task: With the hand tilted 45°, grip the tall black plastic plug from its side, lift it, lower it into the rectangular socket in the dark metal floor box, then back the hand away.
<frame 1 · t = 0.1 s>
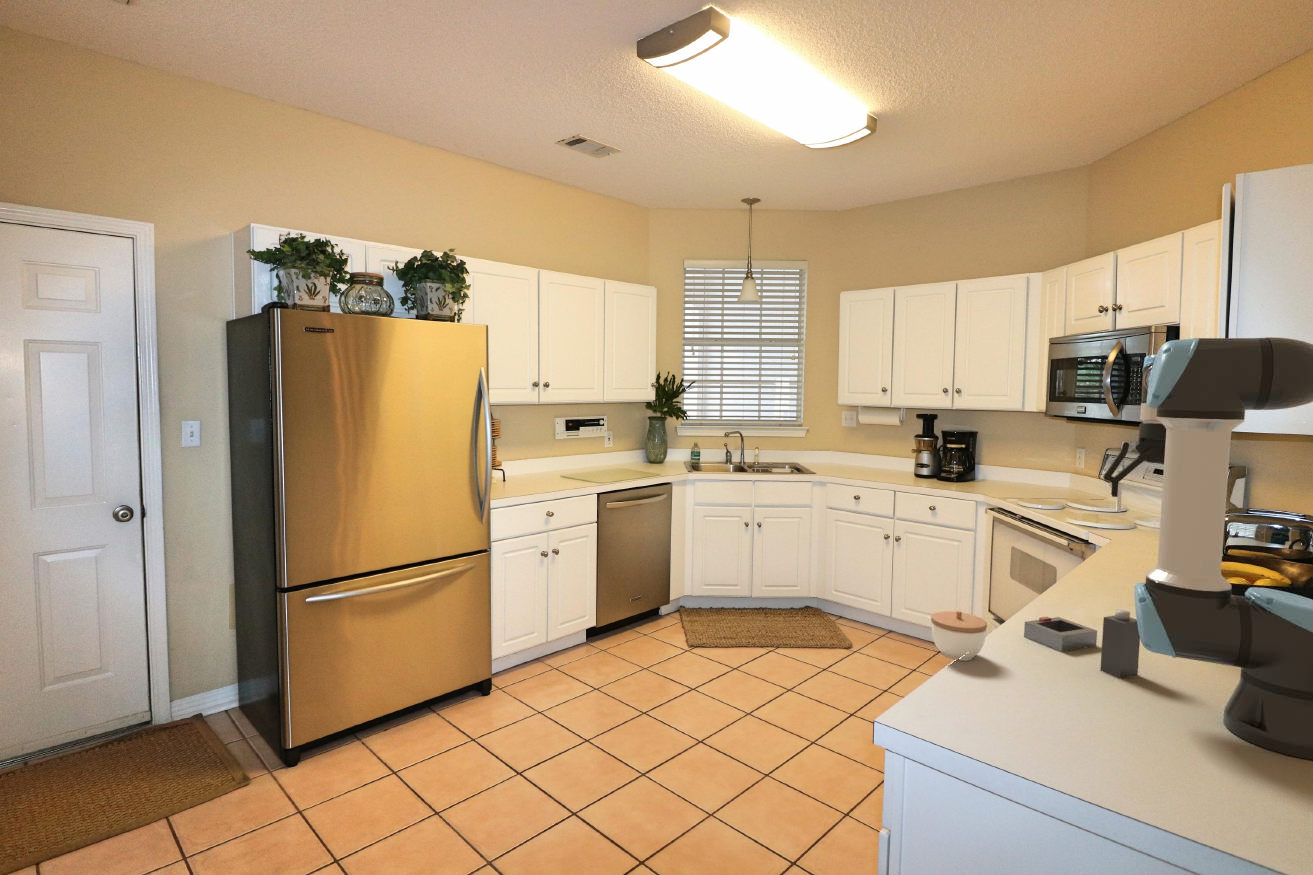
hand: (1153, 514, 159), 28 cm above the worktop, tool pointing down, fingers open, 13 cm apart
socket: (1059, 641, 154), on the worktop
lidded jar: (957, 655, 145), on the worktop
plug: (1118, 672, 137), on the worktop
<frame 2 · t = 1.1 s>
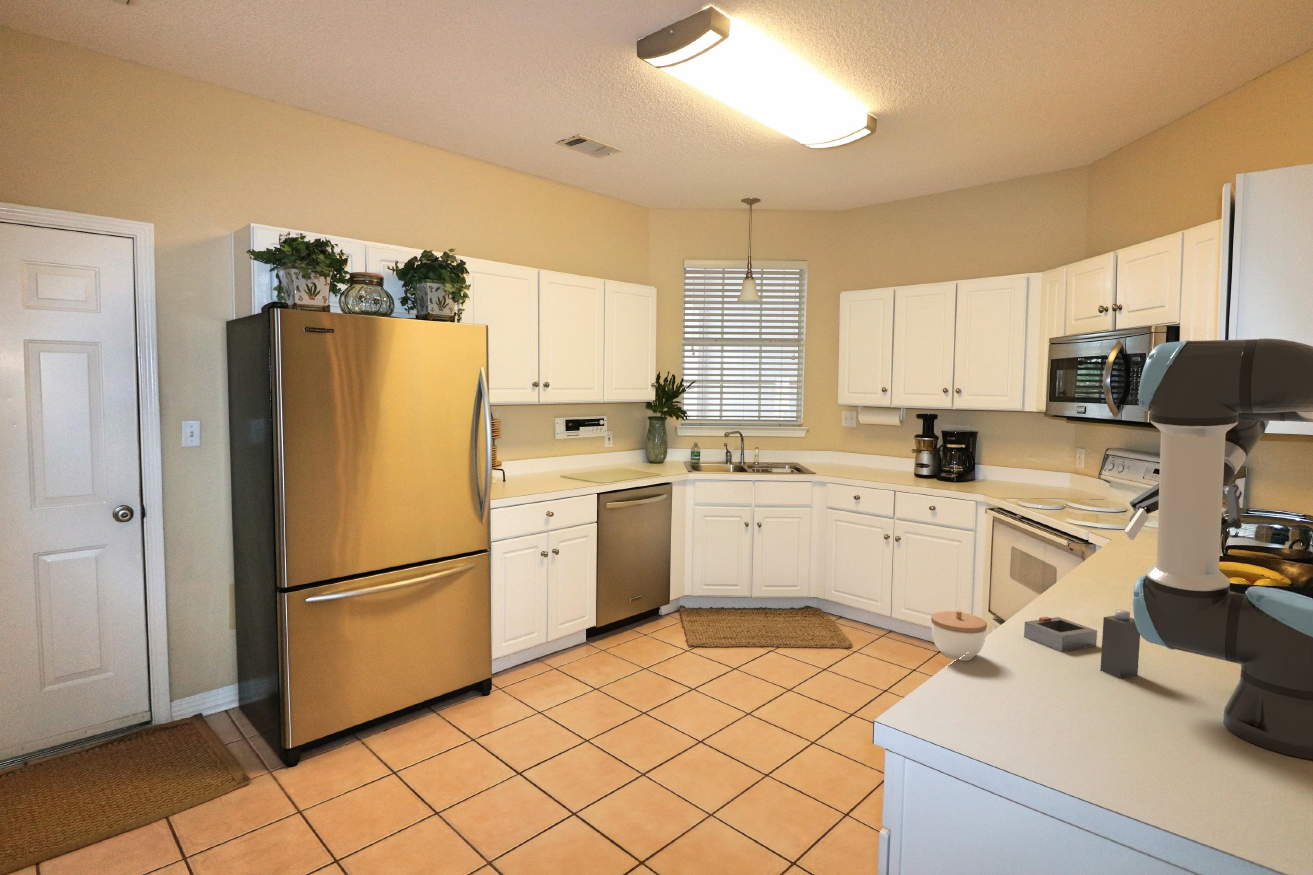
hand: (1162, 542, 139), 26 cm above the worktop, tool tilted 45°, fingers open, 13 cm apart
nothing on the worktop moved.
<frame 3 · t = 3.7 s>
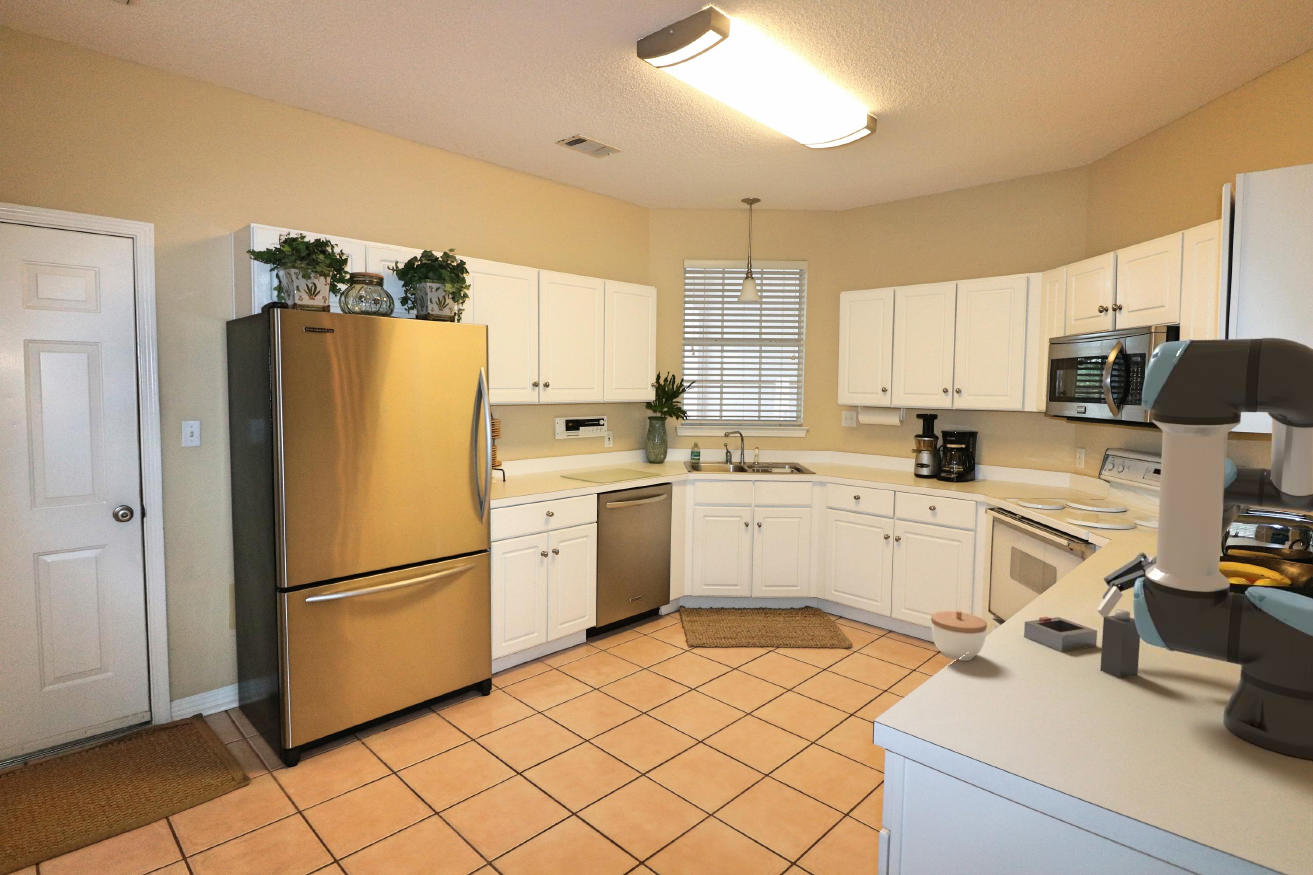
hand: (1133, 624, 139), 9 cm above the worktop, tool tilted 45°, fingers open, 13 cm apart
nothing on the worktop moved.
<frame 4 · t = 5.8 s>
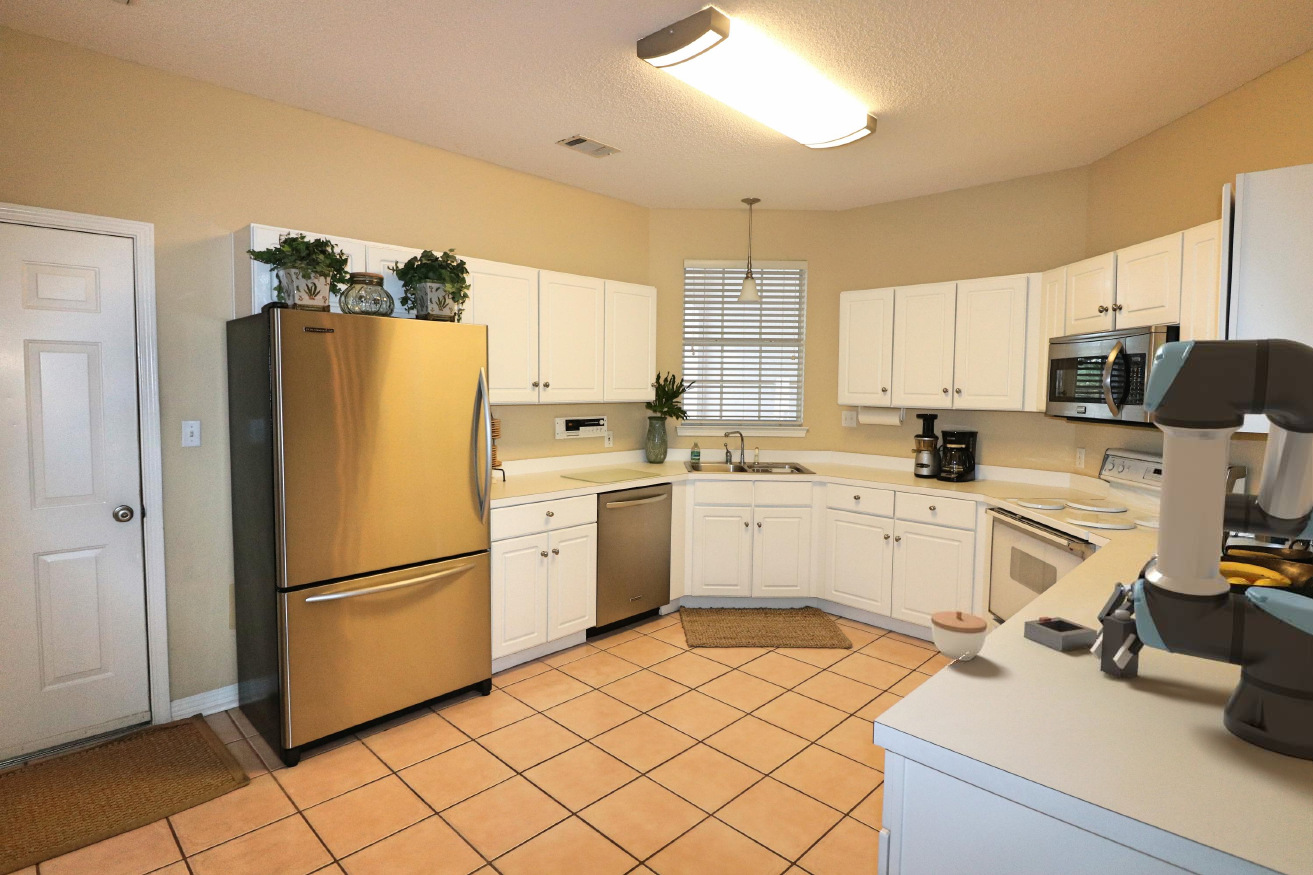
hand: (1106, 659, 136), 3 cm above the worktop, tool tilted 45°, fingers closed on plug, 4 cm apart
plug: (1118, 672, 137), on the worktop, touching gripper
everything else where it was.
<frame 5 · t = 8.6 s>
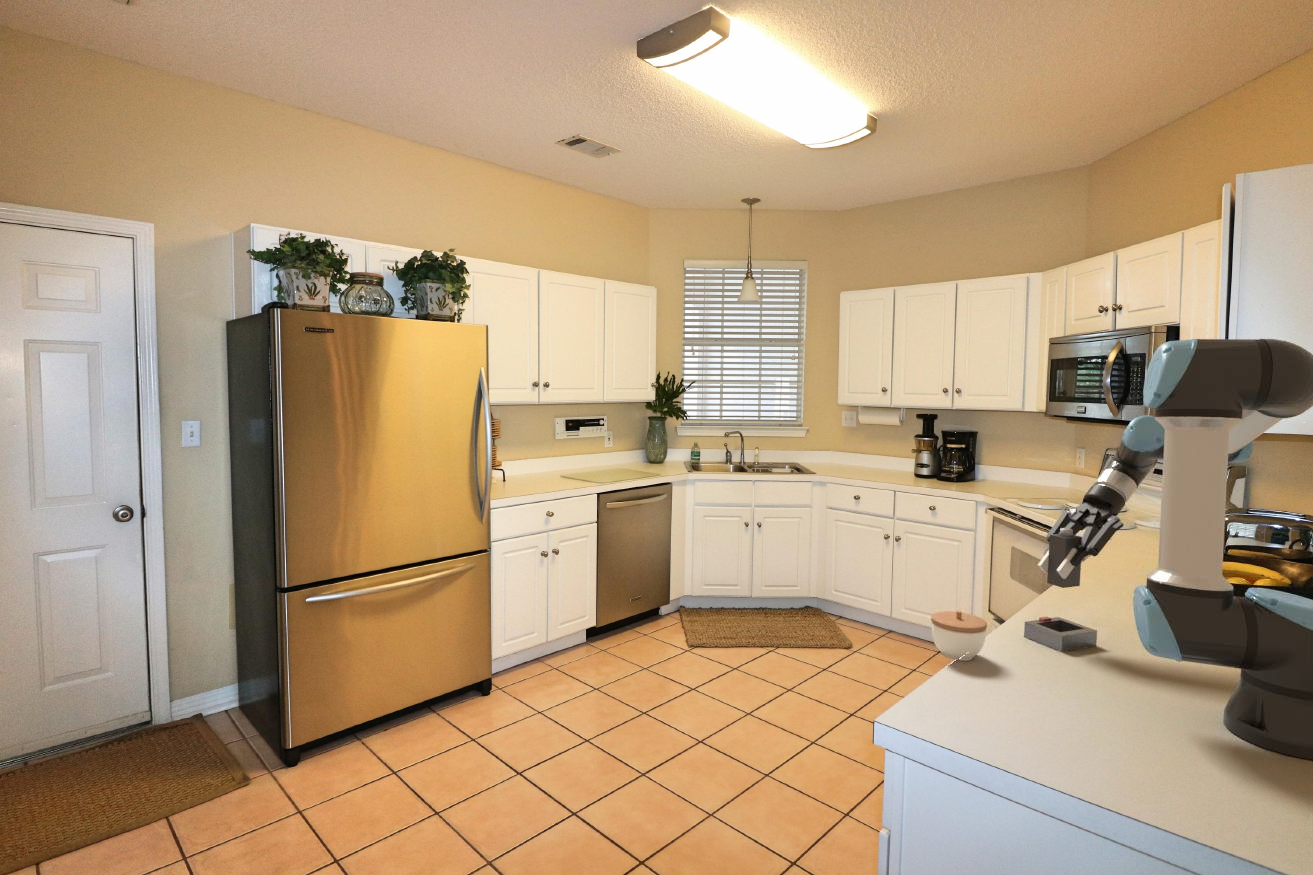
hand: (1051, 571, 152), 16 cm above the worktop, tool tilted 45°, fingers closed on plug, 4 cm apart
plug: (1063, 584, 153), point 13 cm above the worktop, touching gripper
everything else where it was.
when the fingers open (5 cm above the worktop, at t = 11.3 s): plug drops 1 cm, resting on socket.
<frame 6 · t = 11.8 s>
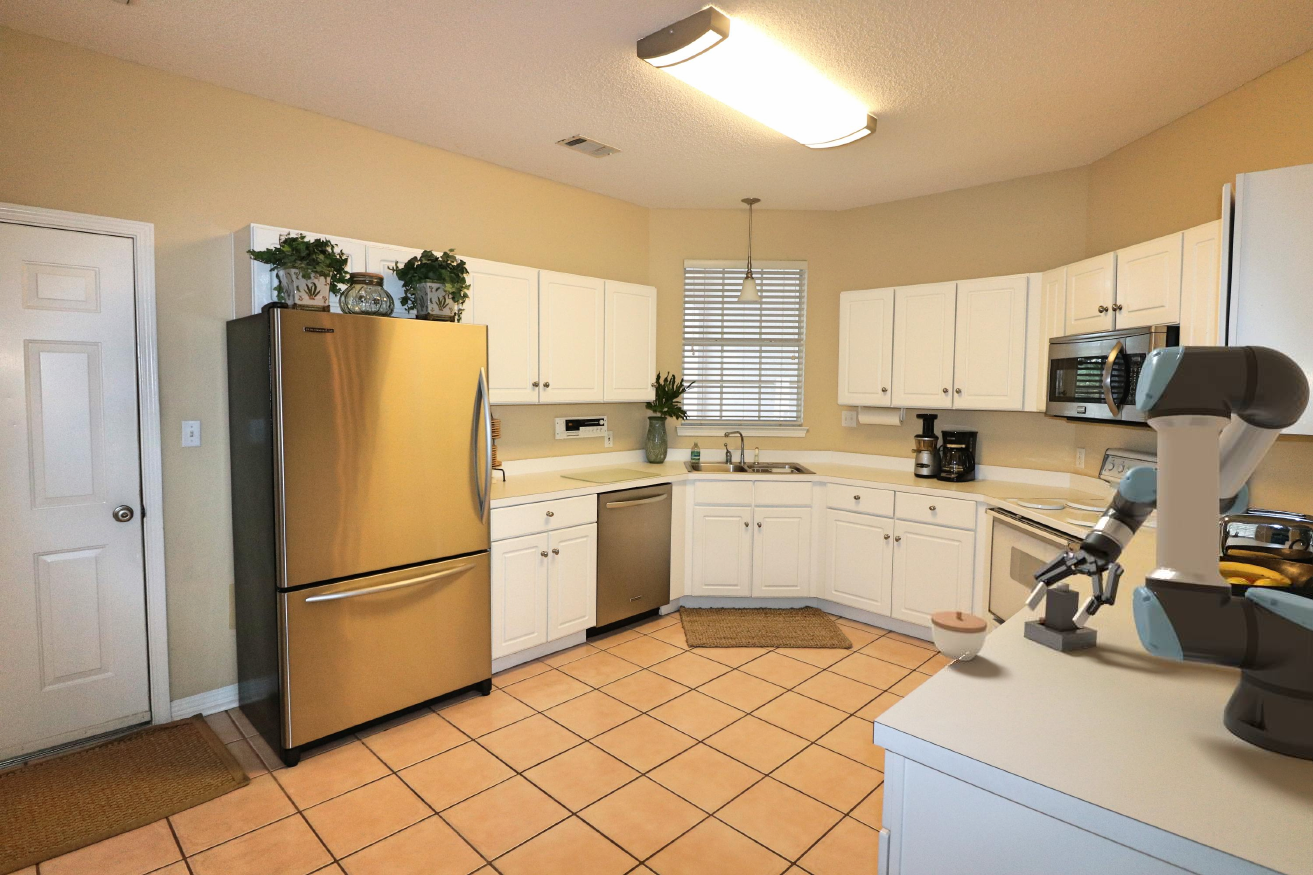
hand: (1051, 615, 153), 6 cm above the worktop, tool tilted 45°, fingers open, 11 cm apart
plug: (1060, 638, 154), point 1 cm above the worktop, touching socket
everything else where it was.
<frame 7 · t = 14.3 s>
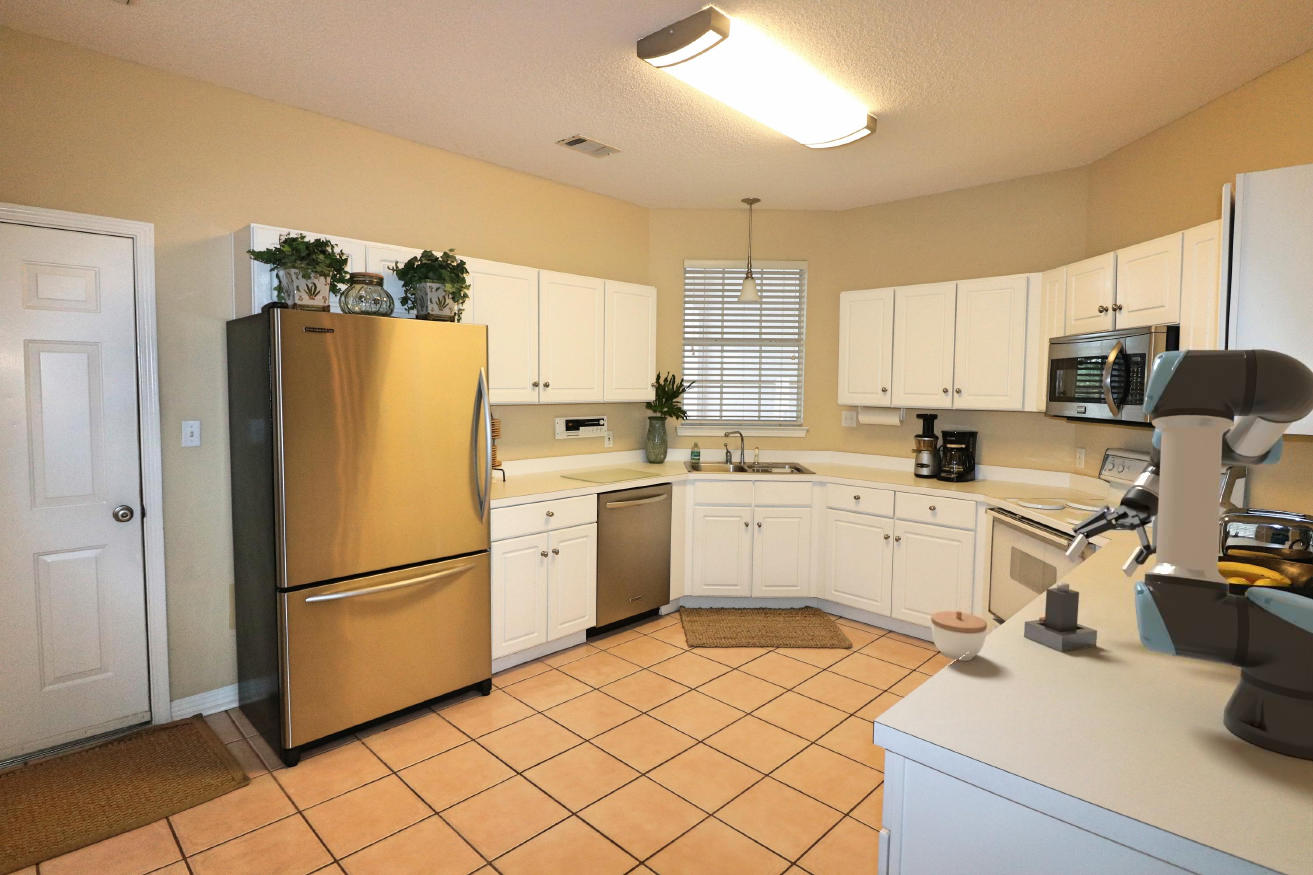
hand: (1096, 565, 157), 16 cm above the worktop, tool tilted 45°, fingers open, 13 cm apart
nothing on the worktop moved.
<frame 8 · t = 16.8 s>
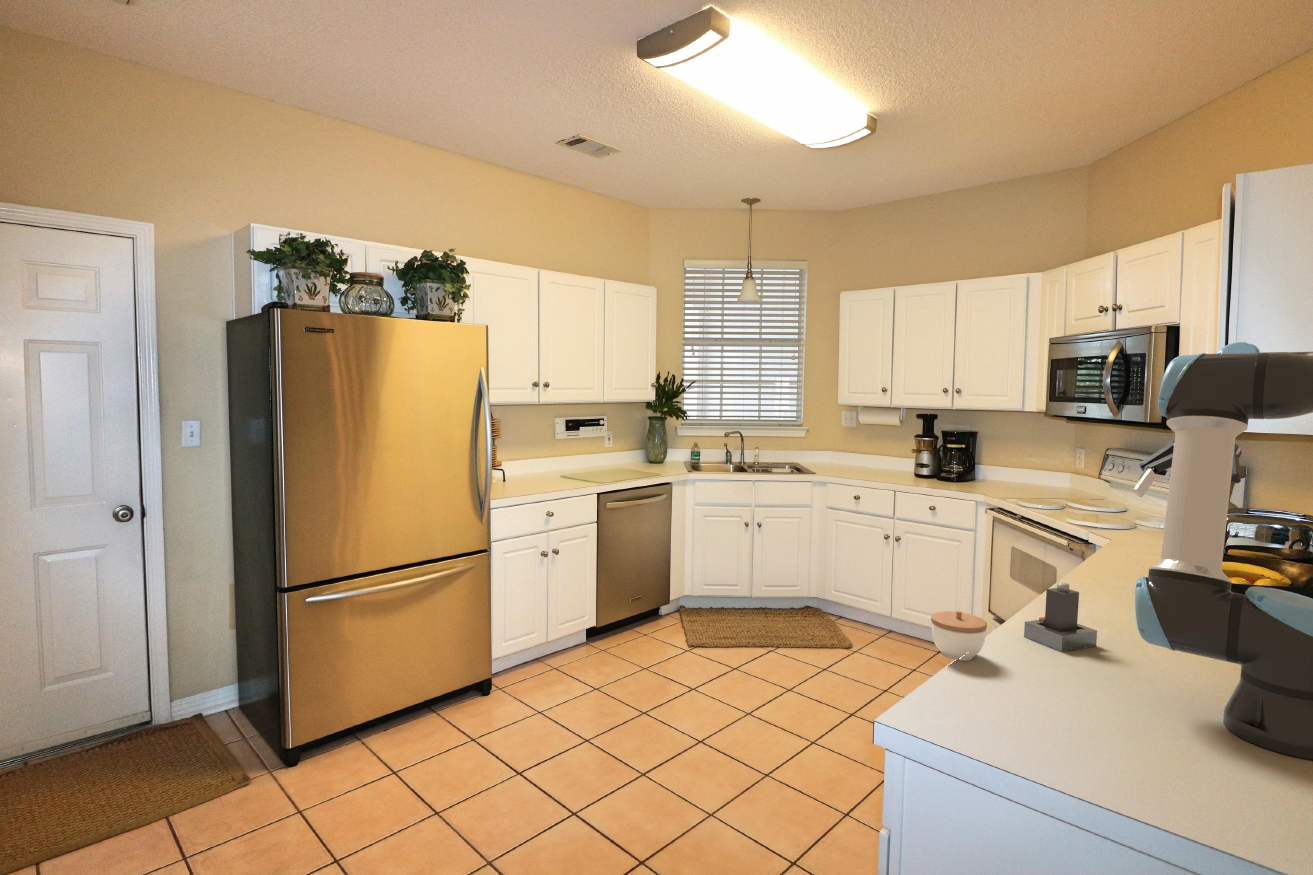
hand: (1168, 497, 153), 33 cm above the worktop, tool tilted 45°, fingers open, 13 cm apart
nothing on the worktop moved.
at the end: plug 0.1 cm off-centre on the socket, point 0.6 cm above the socket's base; plug tilted 0°; the gripper is holding nothing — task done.
